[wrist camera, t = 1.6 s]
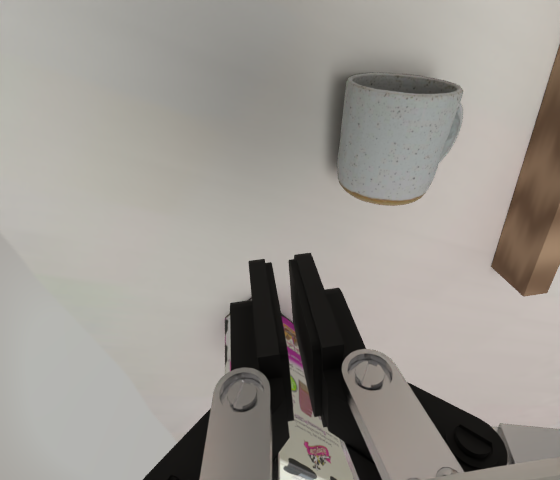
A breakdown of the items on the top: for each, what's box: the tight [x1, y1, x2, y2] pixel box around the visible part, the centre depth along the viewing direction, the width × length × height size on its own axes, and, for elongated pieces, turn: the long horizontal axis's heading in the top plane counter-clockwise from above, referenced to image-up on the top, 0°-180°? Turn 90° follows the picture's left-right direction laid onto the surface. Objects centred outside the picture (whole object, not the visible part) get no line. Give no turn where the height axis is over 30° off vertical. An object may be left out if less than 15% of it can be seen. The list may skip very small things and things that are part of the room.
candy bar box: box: [225, 298, 354, 480], centre depth 33 cm, size 11×5×16 cm, turn 40°
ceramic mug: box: [337, 73, 463, 206], centre depth 26 cm, size 11×8×8 cm
